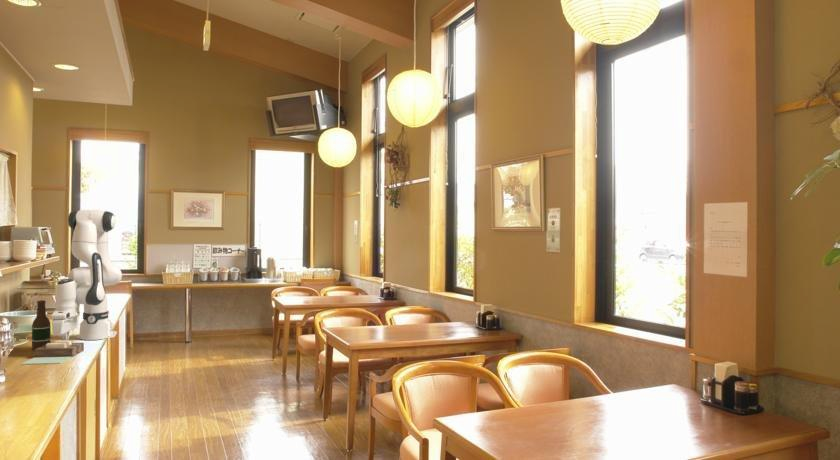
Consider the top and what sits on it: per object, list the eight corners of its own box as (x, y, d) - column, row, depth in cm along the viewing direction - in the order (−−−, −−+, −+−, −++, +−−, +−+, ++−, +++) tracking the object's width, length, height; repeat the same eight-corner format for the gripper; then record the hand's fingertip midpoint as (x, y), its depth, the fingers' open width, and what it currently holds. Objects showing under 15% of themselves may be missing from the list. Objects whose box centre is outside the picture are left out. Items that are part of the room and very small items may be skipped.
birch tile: (53, 344, 284) (53, 340, 284) (71, 344, 286) (71, 340, 286) (45, 348, 276) (45, 344, 276) (64, 347, 278) (64, 343, 278)
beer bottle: (54, 347, 297) (54, 299, 297) (42, 350, 289) (42, 301, 289) (39, 347, 298) (39, 299, 297) (28, 350, 290) (28, 301, 290)
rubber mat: (34, 358, 273) (34, 357, 273) (71, 357, 276) (71, 356, 276) (21, 364, 261) (21, 363, 261) (60, 363, 264) (60, 362, 264)
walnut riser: (48, 351, 287) (48, 343, 287) (83, 350, 290) (83, 342, 290) (34, 358, 274) (34, 349, 274) (72, 357, 276) (72, 348, 276)
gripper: (67, 309, 298) (67, 337, 298) (49, 316, 278) (49, 345, 278) (81, 309, 299) (81, 337, 299) (64, 315, 279) (63, 345, 279)
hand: (65, 341), depth 288 cm, fingers closed
